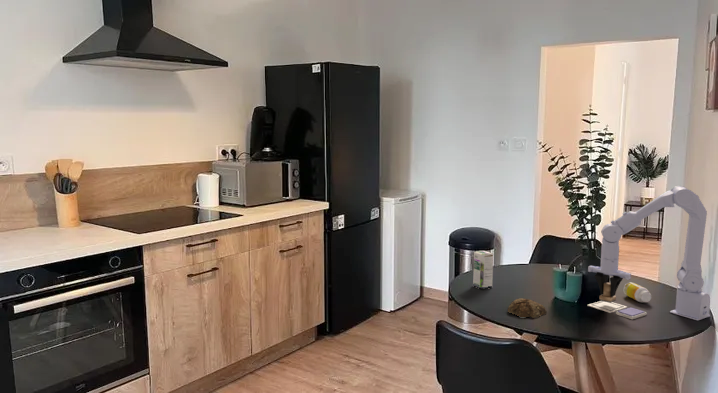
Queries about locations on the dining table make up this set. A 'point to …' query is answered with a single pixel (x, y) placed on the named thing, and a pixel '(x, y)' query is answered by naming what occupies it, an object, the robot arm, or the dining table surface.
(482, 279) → the syrup box
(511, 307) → the brown speckled mound
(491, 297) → the dining table surface
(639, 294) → the supplement bottle
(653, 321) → the dining table surface
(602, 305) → the print sheet
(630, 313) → the ink pad
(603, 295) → the stamp
